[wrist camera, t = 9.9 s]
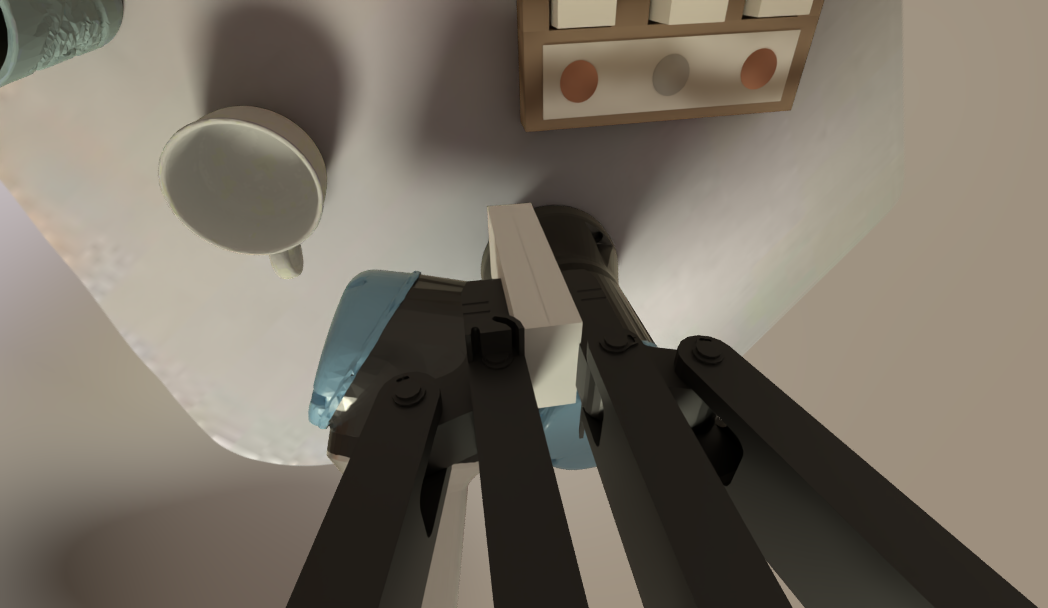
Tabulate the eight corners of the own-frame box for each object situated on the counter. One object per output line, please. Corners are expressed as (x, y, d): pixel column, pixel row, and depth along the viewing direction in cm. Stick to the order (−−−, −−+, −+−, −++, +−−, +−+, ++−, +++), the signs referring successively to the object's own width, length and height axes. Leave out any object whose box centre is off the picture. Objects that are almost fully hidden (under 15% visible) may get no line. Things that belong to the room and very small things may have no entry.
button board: (771, 102, 45) (792, 110, 42) (520, 122, 42) (526, 133, 40) (832, -118, 35) (864, -125, 33) (512, -112, 33) (520, -118, 30)
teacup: (182, 88, 36) (131, 115, 30) (328, 97, 38) (308, 124, 32) (230, 244, 44) (198, 290, 38) (348, 244, 47) (336, 289, 40)
